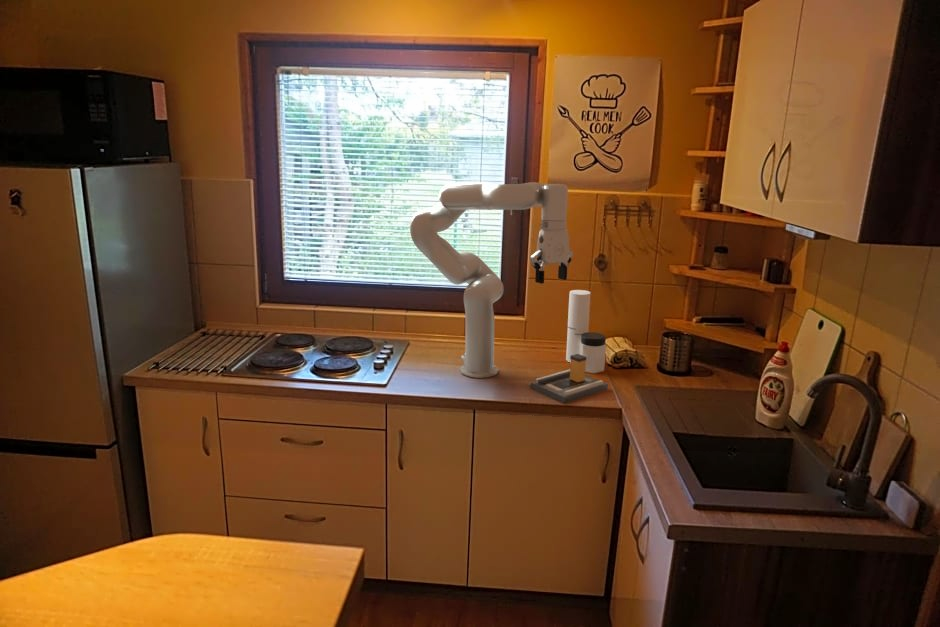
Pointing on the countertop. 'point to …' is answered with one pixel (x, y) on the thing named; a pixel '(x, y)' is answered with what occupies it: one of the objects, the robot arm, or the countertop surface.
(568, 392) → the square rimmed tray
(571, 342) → the cylindrical container
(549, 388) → the panel
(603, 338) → the jar
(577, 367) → the lever
